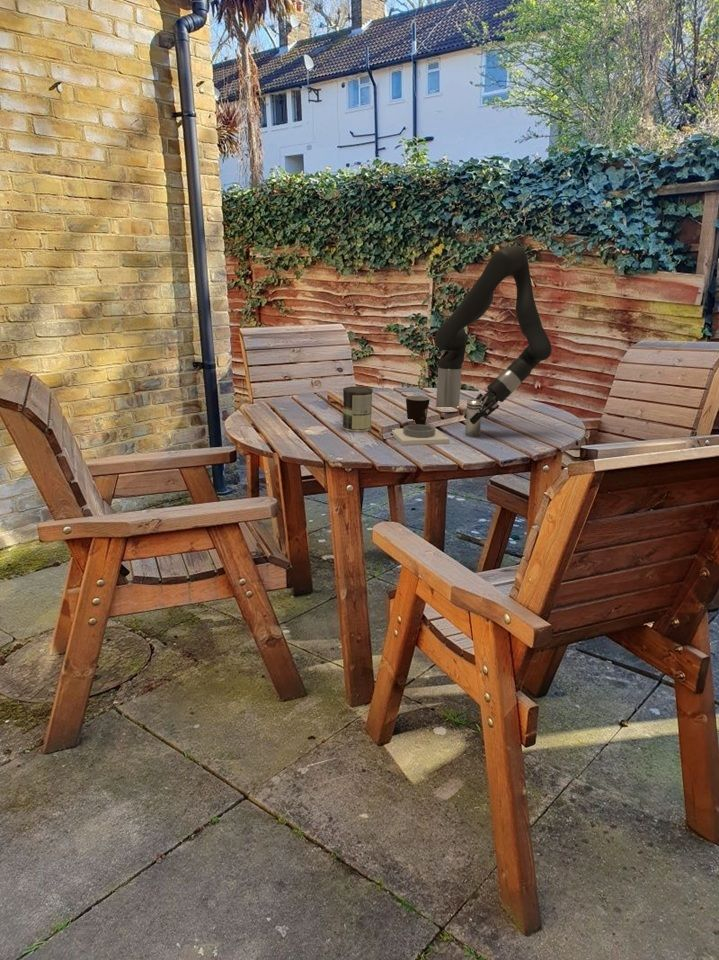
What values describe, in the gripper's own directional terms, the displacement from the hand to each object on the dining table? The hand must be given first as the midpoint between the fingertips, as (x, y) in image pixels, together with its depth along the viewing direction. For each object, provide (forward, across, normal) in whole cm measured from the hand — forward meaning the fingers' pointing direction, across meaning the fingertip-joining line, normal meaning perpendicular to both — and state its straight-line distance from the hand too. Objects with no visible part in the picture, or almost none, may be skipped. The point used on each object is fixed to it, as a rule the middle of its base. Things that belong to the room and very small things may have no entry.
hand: (468, 420), depth 232 cm
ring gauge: (+16, +2, -9) cm, 19 cm away
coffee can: (+29, -14, -22) cm, 39 cm away
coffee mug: (+12, -17, -5) cm, 22 cm away
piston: (+2, 0, +5) cm, 6 cm away
